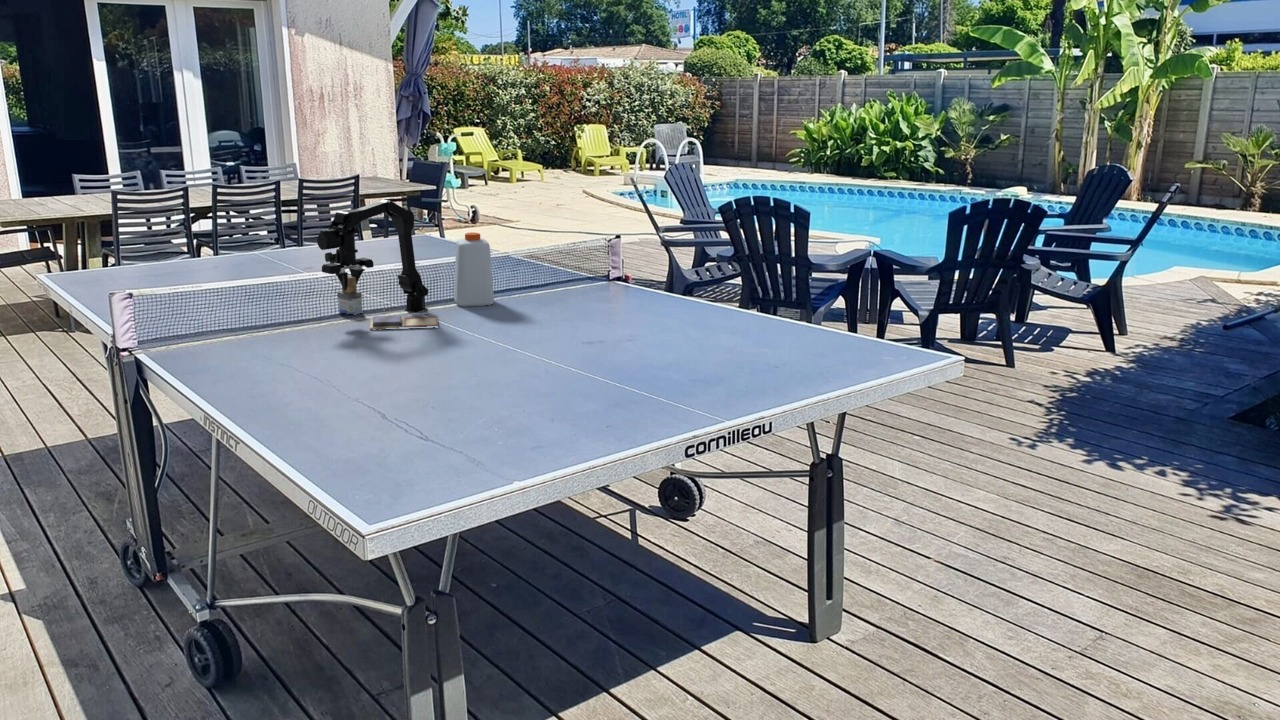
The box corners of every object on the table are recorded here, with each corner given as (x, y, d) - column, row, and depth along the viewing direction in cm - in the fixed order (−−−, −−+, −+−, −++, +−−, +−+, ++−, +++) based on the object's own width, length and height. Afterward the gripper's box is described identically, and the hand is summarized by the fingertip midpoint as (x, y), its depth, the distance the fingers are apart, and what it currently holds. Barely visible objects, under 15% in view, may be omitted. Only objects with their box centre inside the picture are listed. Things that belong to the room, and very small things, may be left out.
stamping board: (436, 320, 376) (436, 313, 375) (438, 328, 365) (438, 321, 364) (370, 321, 370) (370, 315, 370) (370, 330, 359) (369, 323, 359)
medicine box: (338, 313, 382) (337, 290, 379) (347, 310, 386) (346, 288, 383) (354, 316, 378) (353, 293, 376) (363, 313, 382) (361, 291, 380)
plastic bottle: (452, 299, 409) (450, 230, 401) (489, 297, 413) (488, 230, 405) (457, 307, 395) (455, 237, 387) (495, 306, 399) (494, 236, 391)
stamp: (351, 294, 368) (350, 274, 366) (361, 297, 365) (360, 277, 362) (337, 297, 363) (336, 277, 361) (348, 300, 360) (347, 279, 358)
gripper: (353, 240, 370) (356, 282, 375) (310, 246, 356) (313, 290, 360) (373, 244, 364) (375, 286, 369) (330, 251, 350) (333, 294, 354)
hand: (349, 289), depth 363 cm, fingers closed on stamp, 3 cm apart
